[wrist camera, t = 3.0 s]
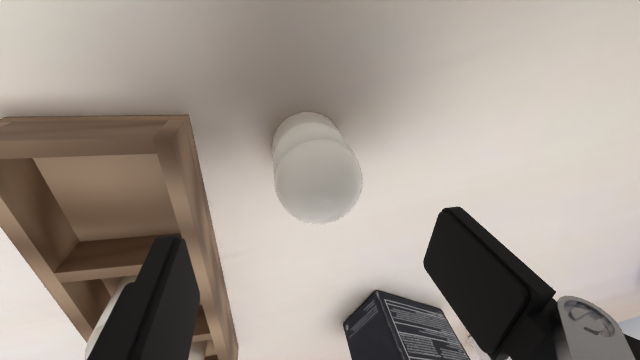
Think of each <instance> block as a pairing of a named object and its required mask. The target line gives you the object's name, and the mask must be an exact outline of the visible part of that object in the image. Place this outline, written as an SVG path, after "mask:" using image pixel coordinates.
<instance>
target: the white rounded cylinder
mask: <svg viewBox="0 0 640 360" xmlns="http://www.w3.org/2000/svg"><path fill="white" fill-rule="evenodd" d="M272 151H273V167H274V182H275V190H276V193H277V196H278V199H279V201H280V203H281V204H282V206H283V207H284V208H285V210H286V211H287V212H288V213H289V214H291V215H292V216H293V217H295V218H296V219H298V220H300V221H303V222H305V223H309V224H316V225H319V224H328V223H332V222H335V221H337V220H339V219H341V218H342V217H344V216H345V215H347V214H348V213H349V212H350V211H351V210H352V209H353V207H354V206H355V205H356V203H357V201H358V199H359V197H360V194H361V190H362V184H363V177H362V171H361V167H360V164H359V162H358V160H357V158H356V156H355V155H354V153H353V152H352V150H351V149H350V147H349V146H348V144H347V143H346V141H345V140H344V138H343V137H342V135H341V134H340V132H339V131H338V129H337V128H336V126H335V125H334V124H333V122H332V121H331V120H329V119H328V118H327V117H325V116H323V115H321V114H318V113H314V112H301V113H297V114H294V115H292V116H290V117H288V118H287V119H285V120H284V121H283V122H282V123H281V124H280V125H279V127H278V128H277V130H276V132H275V134H274V137H273V141H272Z"/></svg>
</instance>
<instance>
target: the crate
mask: <svg viewBox="0 0 640 360" xmlns="http://www.w3.org/2000/svg"><path fill="white" fill-rule="evenodd" d="M0 227H1V228H2V229H3V231H4V232H5V233H6V235H7V236H8V237H9V239H10V240H11V241H12V243H13V244H14V246H15V247H16V248H17V250H18V251H19V252H20V254H21V255H22V256H23V258H24V259H25V260H26V262H27V263H28V264H29V266H30V267H31V268H32V270H33V271H34V272H35V274H36V275H37V276H38V278H39V279H40V280H41V282H42V283H43V284H44V286H45V287H46V288H47V290H48V291H49V293H50V294H51V295H52V297H53V298H54V299H55V301H56V302H57V303H58V305H59V306H60V307H61V309H62V310H63V311H64V313H65V314H66V315H67V317H68V318H69V319H70V321H71V322H72V323H73V325H74V326H75V327H76V329H77V330H78V331H79V333H80V334H81V335H82V337H83V338H84V340H85V341H86V342H87V343H88V340H89V338H90V336H91V334H92V332H93V330H94V328H95V327H96V325H97V323H98V321H99V319H100V317H101V316H102V314H103V312H104V310H105V308H106V307H107V305H108V303H109V301H110V299H111V297H112V296H113V294H114V292H115V290H116V288H117V286H118V285H119V283H120V281H121V279H122V277H123V276H131V275H138V274H139V272H140V269H141V267H142V265H143V263H144V261H145V259H146V257H147V255H148V253H149V251H150V248H151V246H152V244H153V242H154V240H155V238H156V237H159V236H169V235H177V236H178V237H179V239H184V240H185V242H186V245H187V249H188V252H189V256H190V259H191V263H192V266H193V270H194V274H195V277H196V281H197V284H198V288H199V291H200V304H199V309H198V314H197V319H196V324H195V329H194V334H193V338H192V342H197V341H204V340H208V343H207V349H206V355H205V360H237V359H238V343H237V338H236V334H235V329H234V324H233V320H232V315H231V310H230V306H229V301H228V296H227V292H226V287H225V282H224V277H223V273H222V268H221V263H220V259H219V254H218V249H217V245H216V240H215V235H214V231H213V226H212V221H211V217H210V212H209V207H208V203H207V198H206V193H205V189H204V184H203V179H202V175H201V170H200V165H199V161H198V156H197V151H196V147H195V142H194V137H193V133H192V128H191V123H190V118H189V115H149V116H62V117H5V118H2V119H0Z"/></svg>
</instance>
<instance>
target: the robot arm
mask: <svg viewBox="0 0 640 360" xmlns="http://www.w3.org/2000/svg"><path fill="white" fill-rule="evenodd" d="M423 263H424V267H425V270H426V271H427V273H428V274H429V275H430V277H431V278H432V280H433V281H434V283H435V284H436V286H437V287H438V288H439V290H440V291H441V293H442V294H443V296H444V297H445V299H446V300H447V301H448V303H449V304H450V306H451V307H452V309H453V310H454V312H455V313H456V314H457V316H458V317H459V319H460V320H461V322H462V323H463V325H464V326H465V327H466V329H467V330H468V332H469V333H470V335H471V336H472V338H473V339H474V340H475V342H476V343H477V345H478V346H479V348H480V349H481V350H482V351H483V352H484V353H487V354H488V356H489V357H490V359H491V360H507V359H508V357H509V356H510V358H511V359H512V360H640V340H637V339H635V338H632V337H630V336H627V335H625V334H623V332H622V330H621V328H620V327H619V325H618V324H617V322H616V321H615V320H614V319H613V318H612V317H611V316H610V315H609V314H607V313H606V312H605V311H603V310H602V309H601V308H599V307H597V306H596V305H594V304H592V303H591V302H588V301H586V300H584V299H581V298H577V297H574V296H563V297H560V298H559V300H558V301H557V302H556V301H555V300H554V299H553V298H552V297H553V296H554V294H555V293H556V291H554V290H553V289H552V288H551V287H550V286H549V285H548V284H547V283H545V282H544V281H543V280H542V279H541V278H540V277H539V276H538V275H536V274H535V273H534V272H533V271H532V270H531V269H530V268H529V267H527V266H526V265H525V264H524V263H523V262H522V261H521V260H520V259H518V258H517V257H516V256H515V255H514V254H513V253H512V252H511V251H509V250H508V249H507V248H506V247H505V246H504V245H503V244H502V243H500V242H499V241H498V240H497V239H496V238H495V237H494V236H493V235H491V234H490V233H489V232H488V231H487V230H486V229H485V228H484V227H483V226H481V225H480V224H479V223H478V222H477V221H476V220H475V219H474V218H472V217H471V216H470V215H469V214H468V213H467V212H466V211H465V210H463V209H462V208H461V207H450V208H444V209H443V210H442V212H440V213H439V215H438V218H437V221H436V224H435V227H434V230H433V233H432V236H431V239H430V242H429V245H428V248H427V251H426V254H425V258H424V261H423ZM199 304H200V291H199V288H198V284H197V281H196V277H195V274H194V270H193V266H192V263H191V259H190V256H189V252H188V249H187V245H186V242H185V240H184V239H179V237H178V236H177V235H169V236H159V237H156V238H155V240H154V242H153V244H152V246H151V248H150V251H149V253H148V255H147V257H146V259H145V261H144V263H143V265H142V267H141V269H140V272H139V274H138V276H137V278H136V280H135V282H130V283H128V284H127V285H125V287H124V288H123V290H122V292H121V293H120V295H119V297H118V299H117V301H116V303H115V305H114V307H113V309H112V311H111V313H110V315H109V317H108V319H107V321H106V323H105V325H104V327H103V329H102V331H101V333H100V335H99V337H98V339H97V341H96V343H95V345H94V347H93V349H92V351H91V353H90V355H89V357H88V359H87V360H188V358H189V353H190V348H191V343H192V338H193V334H194V329H195V324H196V319H197V314H198V309H199Z"/></svg>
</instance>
